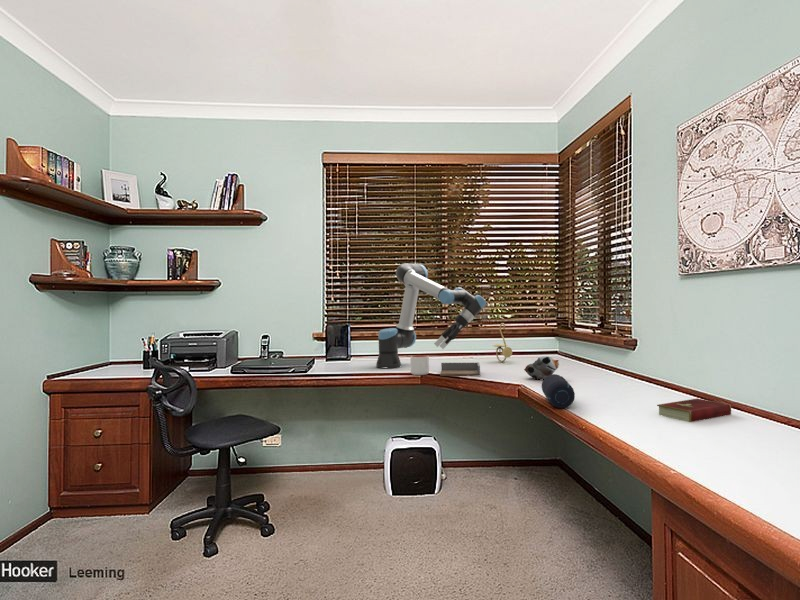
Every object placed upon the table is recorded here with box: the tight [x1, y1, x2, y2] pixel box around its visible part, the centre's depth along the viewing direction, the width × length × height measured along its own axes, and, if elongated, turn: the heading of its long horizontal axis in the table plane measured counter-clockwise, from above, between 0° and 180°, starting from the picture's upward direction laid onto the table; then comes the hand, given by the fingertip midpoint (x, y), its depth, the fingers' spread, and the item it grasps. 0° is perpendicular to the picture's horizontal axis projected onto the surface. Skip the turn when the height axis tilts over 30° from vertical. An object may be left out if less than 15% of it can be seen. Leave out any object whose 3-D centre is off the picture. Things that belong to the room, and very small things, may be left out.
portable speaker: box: [541, 373, 576, 409], centre depth 195 cm, size 25×10×10 cm, turn 171°
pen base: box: [439, 370, 481, 377], centre depth 275 cm, size 15×21×1 cm
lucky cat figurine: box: [524, 356, 560, 380], centre depth 253 cm, size 15×12×14 cm
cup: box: [410, 354, 430, 376], centre depth 277 cm, size 10×10×10 cm
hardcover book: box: [656, 398, 732, 423], centre depth 171 cm, size 12×21×4 cm, turn 115°
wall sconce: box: [492, 322, 513, 363], centre depth 321 cm, size 14×10×25 cm
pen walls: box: [440, 362, 481, 375], centre depth 275 cm, size 15×21×4 cm
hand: (438, 346), depth 279 cm, fingers open, 13 cm apart
